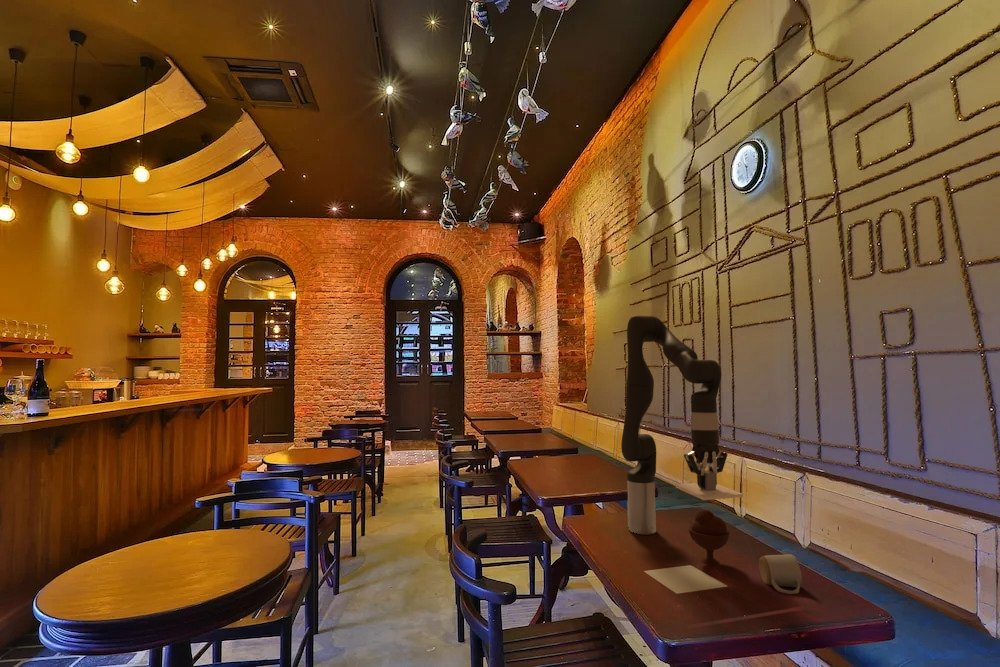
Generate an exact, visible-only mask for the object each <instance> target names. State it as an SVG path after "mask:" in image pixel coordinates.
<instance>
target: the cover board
mask: <svg viewBox="0 0 1000 667" xmlns="http://www.w3.org/2000/svg"><path fill="white" fill-rule="evenodd" d="M704 476H705V489H702V488H699V486H698V484H697V482H691V483H690V482H689V483H679V484H677V483H676V484H674V487H675V489H678V490H680V491H682V492H685V493H686V494H689V495H691V496H693V497H696V498H698V499H700V500H702V501H711V500H723V499H733V498H734V499H735V498H743V497H744V494H743V493H741V492H739V491H736V490H734V489H731V488H729V487H726V486H725V485H724V486H723V485H722V484H718V483H717V485H716V473H715V472H712V471H710V470H706V469H705V474H704Z"/></svg>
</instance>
